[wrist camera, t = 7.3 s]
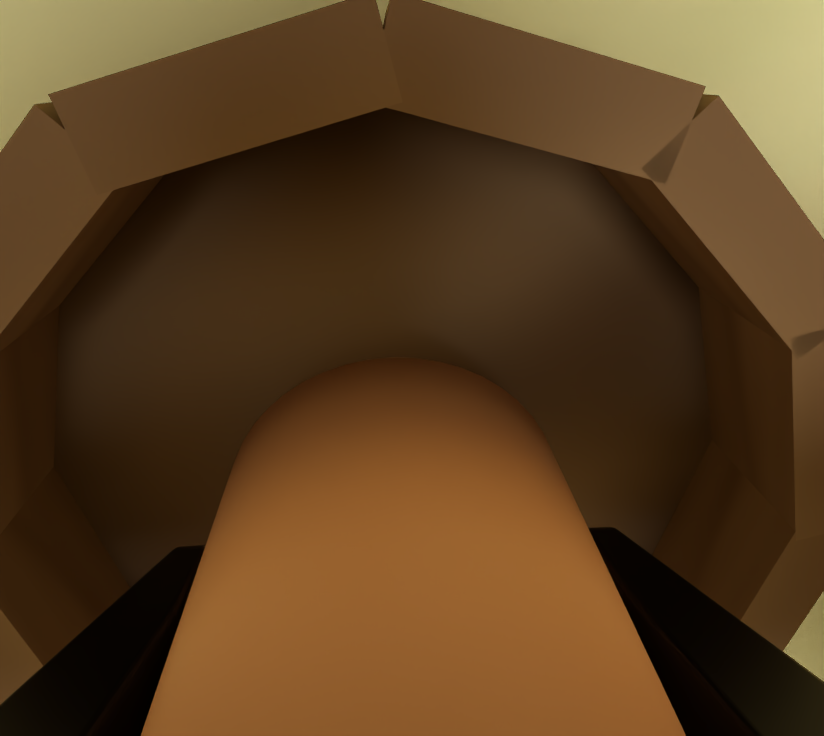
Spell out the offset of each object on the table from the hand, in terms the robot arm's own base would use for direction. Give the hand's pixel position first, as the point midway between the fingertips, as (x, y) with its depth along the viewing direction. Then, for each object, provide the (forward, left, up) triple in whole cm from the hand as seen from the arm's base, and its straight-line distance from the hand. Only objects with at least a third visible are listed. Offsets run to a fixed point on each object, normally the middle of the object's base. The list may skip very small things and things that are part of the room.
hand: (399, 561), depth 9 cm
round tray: (0, 0, -3) cm, 3 cm away
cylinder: (0, 0, -1) cm, 1 cm away
